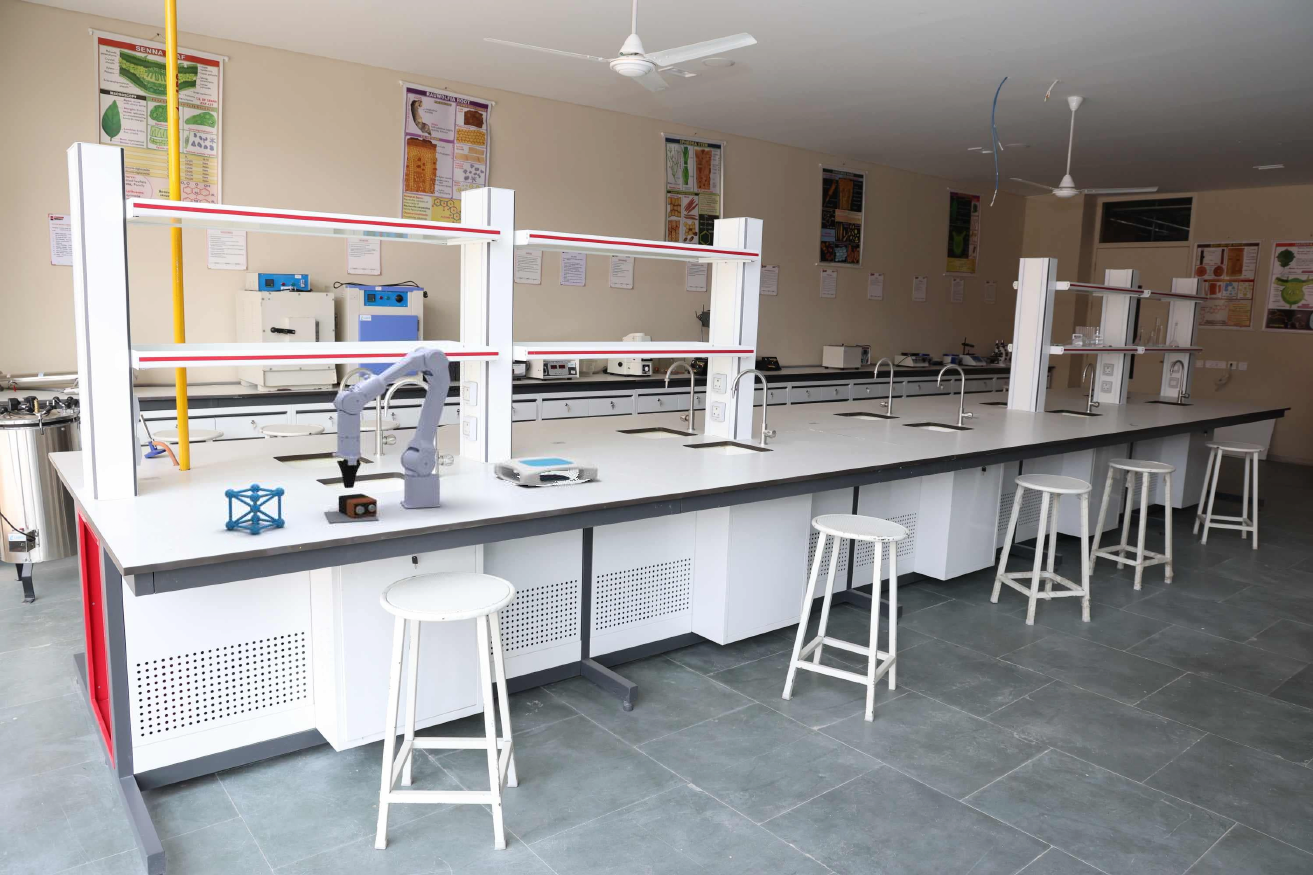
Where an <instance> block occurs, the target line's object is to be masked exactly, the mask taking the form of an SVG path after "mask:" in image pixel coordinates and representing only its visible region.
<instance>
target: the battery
mask: <svg viewBox="0 0 1313 875" xmlns="http://www.w3.org/2000/svg"><path fill="white" fill-rule="evenodd" d="M377 502H378V500H377V499H376V498H374V497H371V496H369V495H366V494H364V493H354V494H347V495H346V494H345V495H339V496H338V511H340V512H342V513H344V514H346V515H348V516H350V517H352V518H358V517H366V516H374V515H376V516H377V514H378V508H377V507H378V503H377Z"/></svg>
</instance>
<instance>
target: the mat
mask: <svg viewBox="0 0 1313 875" xmlns="http://www.w3.org/2000/svg"><path fill="white" fill-rule="evenodd" d="M323 514H324V516H325V517H326V520H327V521H328V524H343V523H360V522H362V523H363V522H375V521H376V522H378V521H379V518H378V516H377V514H376V515H374V516H366V517H358V518H352V517H350V516H348V515H346V514H344V513H342V512H340V511H339V510H337V511H336V510H334V511H323Z"/></svg>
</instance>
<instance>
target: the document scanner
mask: <svg viewBox="0 0 1313 875" xmlns="http://www.w3.org/2000/svg"><path fill="white" fill-rule="evenodd" d="M493 465H494V466H493V467H494V468H493V469H494V470H493V474H494V475H496V476H497V478H499V479H500V478H501V479H500V480H502V479H503V480H505V481H509V482H512V483H515V484H517V485H528V486H527V487H533V486H536V485H547V484H553V483H558V482H557V481H564V479H558V480H557V479H555V480H554V479H553V480H541V476H540V474H541V473H545V472H551V471H568V470H569V471H570V470H571V471H573V470H578V473H579V474H578V476H577V477H576V478H578V479H579V480H586V479H592V480H594V479H593V478H595V479H597V478H598V471H599V469H598V467H596V466H595V465H593V464H592V463H591V462H589V461H587V460H583V459H580V458H577V457H571V456H568V457H567V456H553V455H548V456H547V455H546V456H545V455H543V456H533V457H532V456H531V457H530V456H529V457H516V458H515V457H514V458H511V459H508V460H504V461H501V462H498V463H495V464H493ZM515 471H516V472H515ZM517 476H520V478H519V477H517ZM578 479H577V480H578ZM503 480H502V481H503ZM573 480H574V481H576V480H575V479H573ZM573 480H570V481H573ZM505 481H504V482H505ZM555 481H556V482H555ZM565 481H566V480H565ZM517 485H516V486H517Z"/></svg>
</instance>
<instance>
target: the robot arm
mask: <svg viewBox="0 0 1313 875" xmlns="http://www.w3.org/2000/svg"><path fill="white" fill-rule="evenodd" d="M449 364H450V359H449V358H448V357H447V356H446V354H445V352H444V351H442V350H441V349H438V348H428V347H423V346H422V347H421V346H420V347H417V348H416V349H414V350H413V351H410V352H407V354H406V355H404V356H403V357H402V358H401V359H399V360H398V361H397V362H395V363H394V364H393V365H391V366H390V367H388V368H386V370H384V371H383V372H382V373H380V374H379V375H376V374H370V375H369V374H366V375H364V376H363V379H362V380H360V381H359V382H358V383H356V384H354V385H353V384H352V385H350V386H349V387H348V390H342V391H340V392H338V393H337V394H336V397H335V398H334V400H333V402H332V403H333V406H334V408H335V409H336V411H337V419H336V421H337V424H336V425H337V426H336V428H337V430H336V432H337V433H336V434H337V435H336V436H337V437H336V438H337V444H336V445H337V448H336V449H337V452H333V453H332V457H335V458H340V459H343V460H337V461H336V463H337V464H338V465H337V466H338V467H339V470H340V473H341V477H342V483H343V484H342V485H343V486H344V489H353V488H354V486H355V483H356V477H357V473H358V471H359V468H360V467H361V464H362V462H361V460H360V459H359V458H361V456H362V452H361V413H362V411H363V410H364V408H365V405H368V404H369V403H371V402H372V401H373V400H374V399H376V398H378V397H379V396H381V395H383V394H385V392H386V388H387V386H388V385H389V384H391V383H393V382H395V381H396V380H398V379H400V378H402V377H403V376H405V375H406V374H408V373H410V372H420V373H421V374H422V375H423V376H424V377H425V379H426V381H427V383H428V388H427V391H426V395H425V398H424V402H423V405H422V408H421V412H420V416H419V419H418V422H417V427H416V428H415V429H416V430H415V434H414V437H413V438H412V439H411V440H410V441H409V442H408V443H407V447H406V448H405V450H404V451H403V452H402V453H401V456H400V464H401V466H402V467H403V468H404V478H403V479H404V481H403V482H404V483H403V484H404V488H403V491H404V496H403V499H404V500H400V504H401V505H402V506H403V507H404V509H420V508H437V507H441V502H440V500H441V498H440V497H441V493H440V492H441V488H440V487H441V480H440V476H439V474H438V473H432V472H433V471H434V470H435V468H436V453H437V450H436V447H435V444H434V442H435V438H436V435H437V430H438V428H439V425H440V420H441V417H442V413H443V410H444V407H445V406H444V405H445V402H446V401H447V400H446V399H447V396H448V392H449V390H450V389H449V388H450V385H451V376H450V371H449Z"/></svg>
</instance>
